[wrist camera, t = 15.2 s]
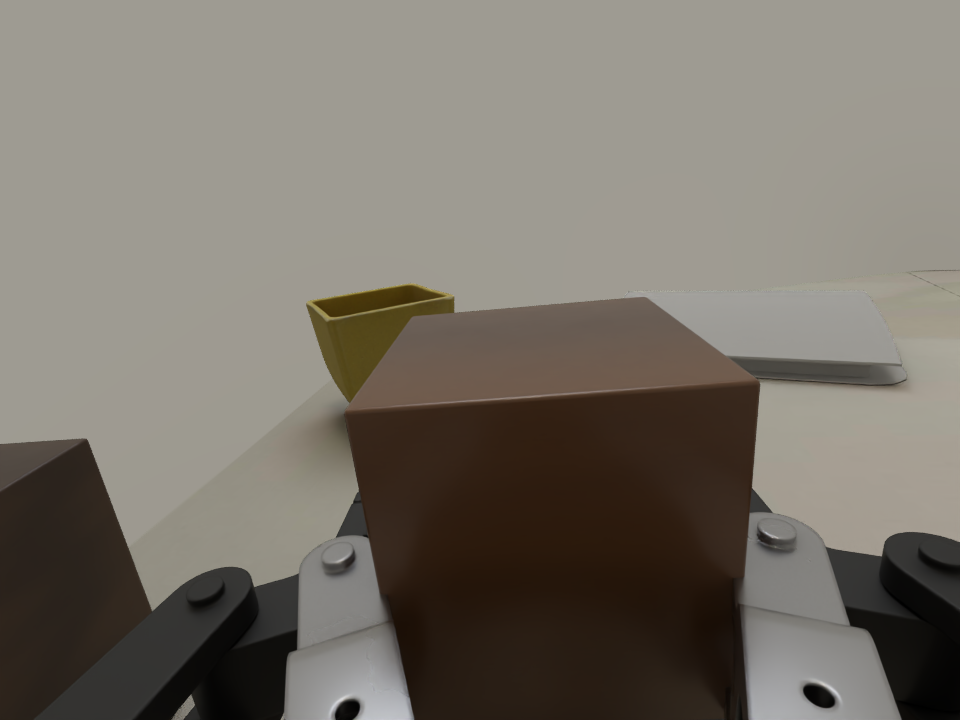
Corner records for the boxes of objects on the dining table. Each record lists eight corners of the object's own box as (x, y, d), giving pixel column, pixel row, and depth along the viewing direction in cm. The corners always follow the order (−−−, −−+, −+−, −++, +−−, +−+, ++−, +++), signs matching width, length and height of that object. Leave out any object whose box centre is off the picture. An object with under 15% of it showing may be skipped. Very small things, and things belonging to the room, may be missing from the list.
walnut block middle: (719, 907, 9) (762, 379, 6) (439, 908, 9) (341, 410, 6) (644, 660, 14) (646, 295, 11) (461, 666, 14) (411, 315, 11)
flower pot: (326, 408, 41) (303, 299, 38) (426, 382, 45) (412, 281, 42) (352, 451, 34) (327, 319, 31) (469, 416, 37) (457, 295, 34)
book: (619, 321, 58) (619, 287, 56) (869, 327, 48) (875, 286, 46) (586, 367, 45) (585, 324, 43) (919, 388, 35) (930, 333, 33)
